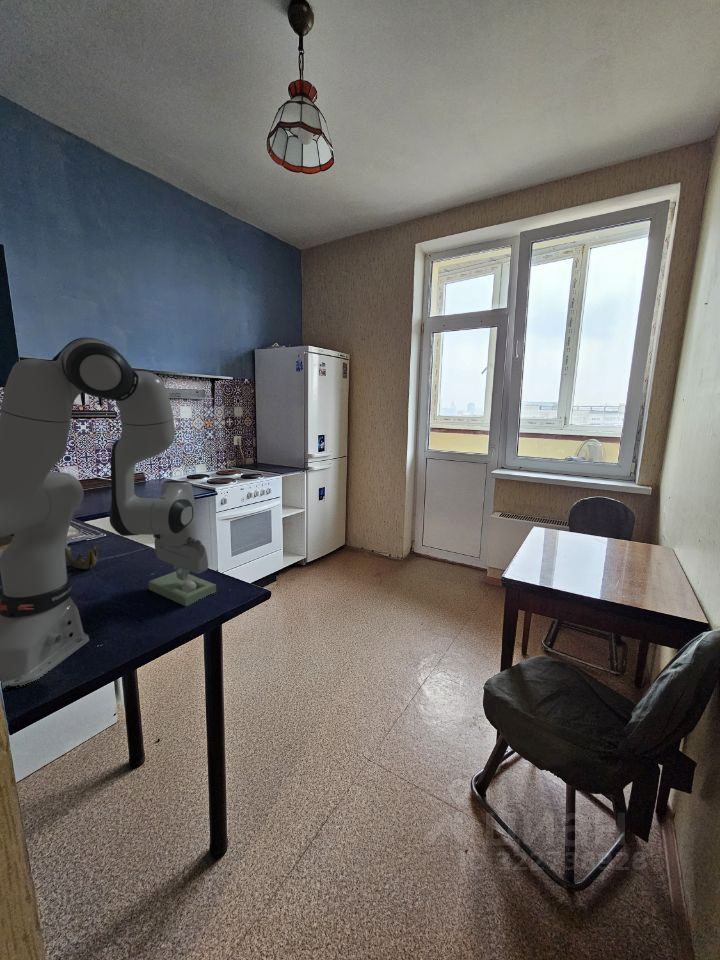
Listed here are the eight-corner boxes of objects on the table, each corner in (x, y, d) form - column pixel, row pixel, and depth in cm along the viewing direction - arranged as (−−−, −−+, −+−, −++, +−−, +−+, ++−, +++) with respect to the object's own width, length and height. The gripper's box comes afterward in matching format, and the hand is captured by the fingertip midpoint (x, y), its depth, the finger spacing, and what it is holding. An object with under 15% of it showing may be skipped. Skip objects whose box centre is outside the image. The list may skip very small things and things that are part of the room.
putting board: (216, 592, 115) (215, 584, 115) (186, 606, 107) (185, 598, 106) (179, 577, 124) (178, 570, 124) (148, 589, 116) (148, 581, 116)
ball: (186, 577, 113) (180, 581, 115) (183, 590, 110) (177, 594, 112) (199, 580, 115) (193, 584, 117) (197, 593, 112) (191, 597, 115)
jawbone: (75, 565, 120) (69, 535, 122) (67, 578, 129) (62, 550, 132) (110, 558, 127) (103, 530, 129) (100, 571, 136) (94, 545, 139)
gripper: (212, 538, 109) (214, 584, 112) (169, 525, 120) (172, 567, 122) (193, 545, 104) (195, 592, 107) (149, 530, 115) (152, 574, 117)
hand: (182, 579), depth 115 cm, fingers closed
